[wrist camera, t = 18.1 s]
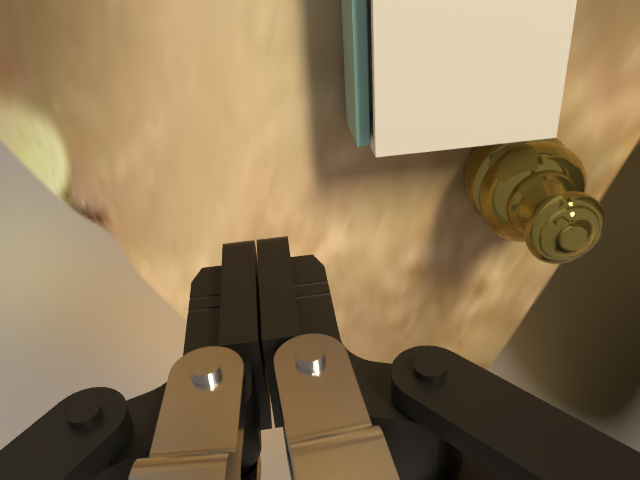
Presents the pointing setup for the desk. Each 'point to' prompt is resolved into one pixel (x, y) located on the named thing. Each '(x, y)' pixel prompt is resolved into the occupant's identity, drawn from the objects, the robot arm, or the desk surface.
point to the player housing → (466, 72)
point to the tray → (358, 67)
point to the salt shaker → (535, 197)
